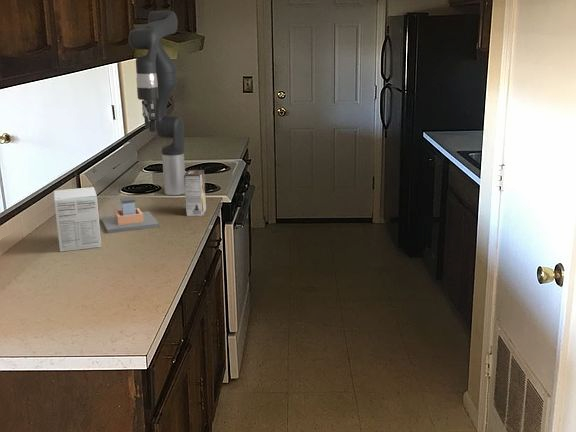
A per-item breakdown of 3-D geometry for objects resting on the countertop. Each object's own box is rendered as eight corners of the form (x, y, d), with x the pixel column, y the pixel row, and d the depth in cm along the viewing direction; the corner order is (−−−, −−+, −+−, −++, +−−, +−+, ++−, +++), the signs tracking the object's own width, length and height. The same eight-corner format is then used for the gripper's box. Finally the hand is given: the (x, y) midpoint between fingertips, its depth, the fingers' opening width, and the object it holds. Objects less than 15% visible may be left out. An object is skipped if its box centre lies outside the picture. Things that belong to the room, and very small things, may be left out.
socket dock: (100, 219, 242) (99, 209, 241) (149, 214, 248) (148, 203, 247) (107, 233, 226) (106, 221, 225) (158, 226, 233) (158, 215, 231)
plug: (122, 219, 238) (120, 198, 236) (134, 217, 240) (132, 196, 237) (124, 222, 234) (122, 201, 232) (136, 221, 236) (134, 199, 233)
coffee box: (190, 209, 254) (187, 169, 250) (206, 209, 254) (204, 169, 250) (186, 216, 245) (183, 174, 241) (203, 216, 245) (200, 174, 241)
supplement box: (102, 247, 211) (97, 195, 206) (59, 252, 207) (53, 199, 202) (99, 235, 223) (94, 186, 218) (58, 240, 219) (52, 190, 214)
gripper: (133, 85, 242) (136, 128, 246) (140, 87, 229) (143, 133, 234) (153, 84, 245) (156, 126, 249) (161, 86, 232) (164, 132, 237)
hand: (150, 130), depth 242 cm, fingers open, 8 cm apart
